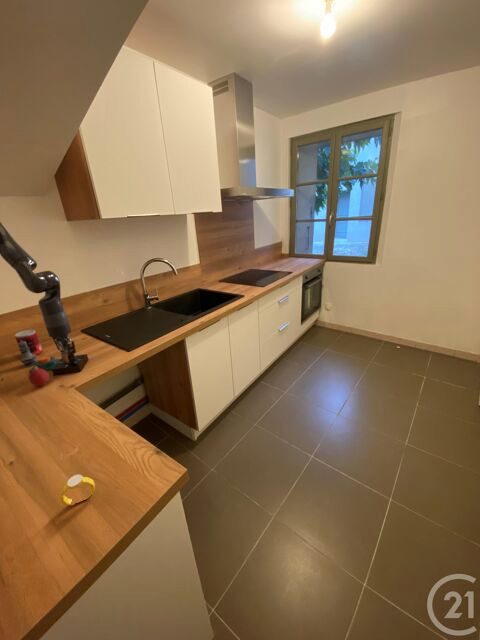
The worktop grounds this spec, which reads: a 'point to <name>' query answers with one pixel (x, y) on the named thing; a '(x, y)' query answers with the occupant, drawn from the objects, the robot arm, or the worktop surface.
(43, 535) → the worktop surface
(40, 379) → the red round piece
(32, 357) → the grey chess piece
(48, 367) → the ignition block
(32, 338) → the canned food
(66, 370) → the black square tray
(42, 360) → the ignition button
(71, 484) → the watch
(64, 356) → the hob knob
